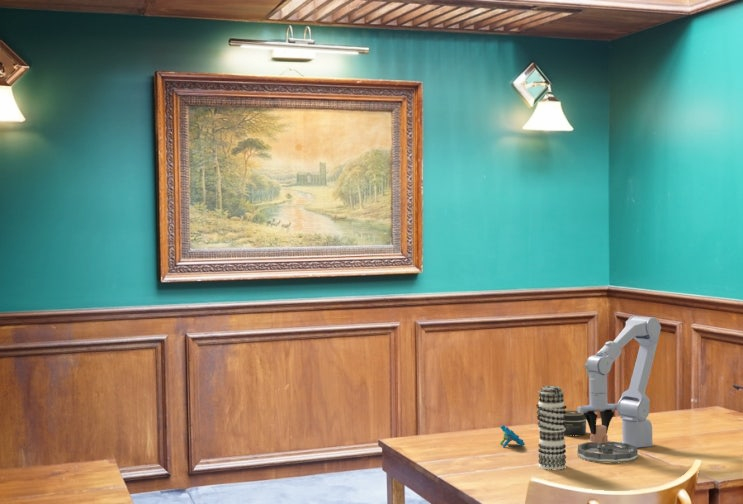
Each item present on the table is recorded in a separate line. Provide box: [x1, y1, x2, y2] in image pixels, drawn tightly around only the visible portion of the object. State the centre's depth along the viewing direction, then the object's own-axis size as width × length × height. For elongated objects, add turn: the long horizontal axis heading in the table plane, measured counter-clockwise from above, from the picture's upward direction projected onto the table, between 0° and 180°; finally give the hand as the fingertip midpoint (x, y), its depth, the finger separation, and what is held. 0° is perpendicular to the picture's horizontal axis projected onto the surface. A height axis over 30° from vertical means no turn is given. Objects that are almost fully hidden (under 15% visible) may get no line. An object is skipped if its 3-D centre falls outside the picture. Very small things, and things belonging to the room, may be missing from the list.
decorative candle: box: [535, 385, 567, 471], centre depth 293 cm, size 9×9×25 cm
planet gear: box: [589, 424, 609, 443], centre depth 311 cm, size 5×5×5 cm
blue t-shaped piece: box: [499, 424, 526, 448], centre depth 322 cm, size 11×6×10 cm
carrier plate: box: [577, 440, 639, 464], centre depth 306 cm, size 19×19×5 cm
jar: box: [563, 410, 587, 437], centre depth 340 cm, size 10×10×8 cm
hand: (598, 433), depth 310 cm, fingers closed on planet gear, 4 cm apart
